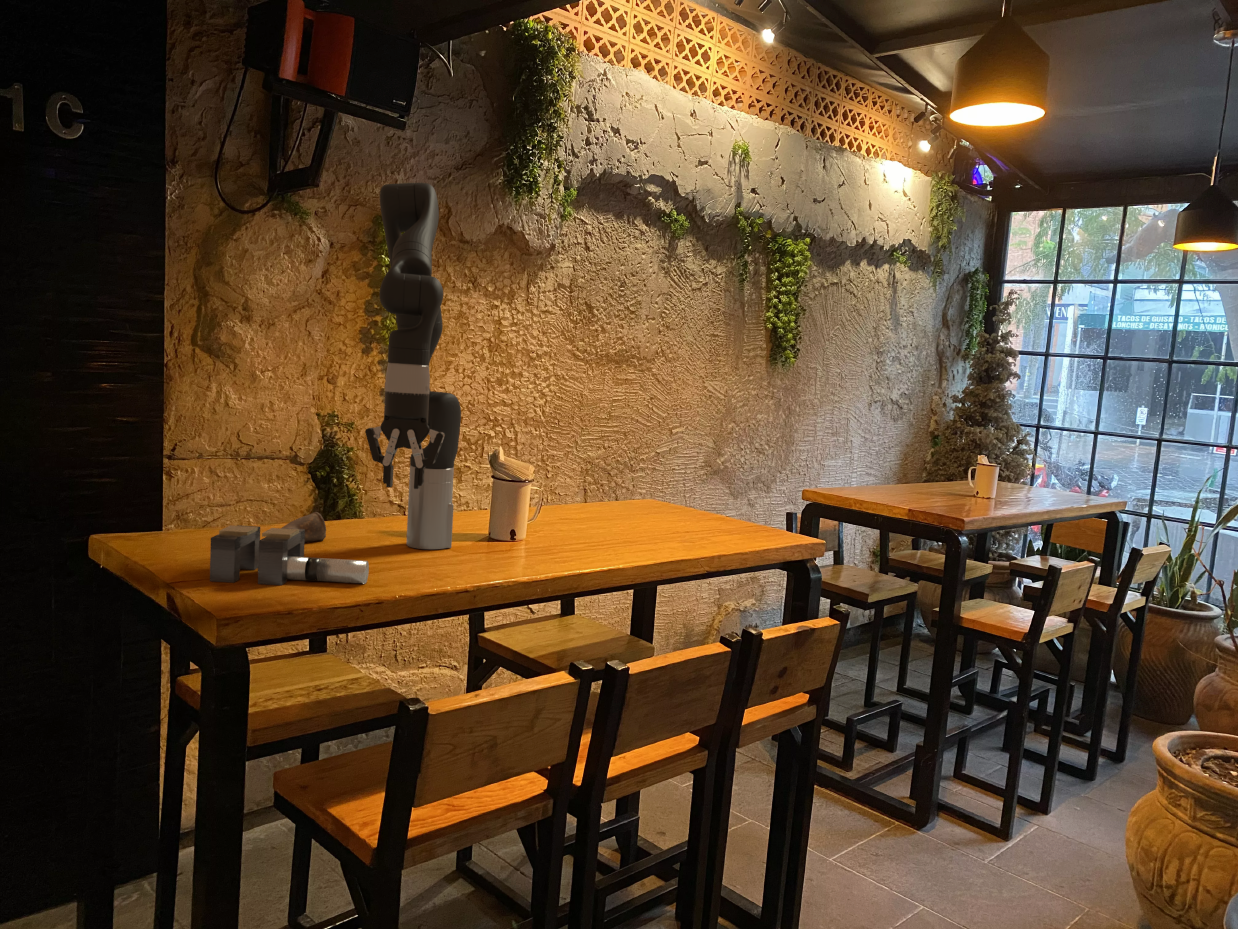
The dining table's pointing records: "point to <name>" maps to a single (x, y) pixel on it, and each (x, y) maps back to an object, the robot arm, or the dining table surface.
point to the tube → (327, 569)
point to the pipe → (310, 526)
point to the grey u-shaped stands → (254, 553)
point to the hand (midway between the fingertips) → (403, 487)
